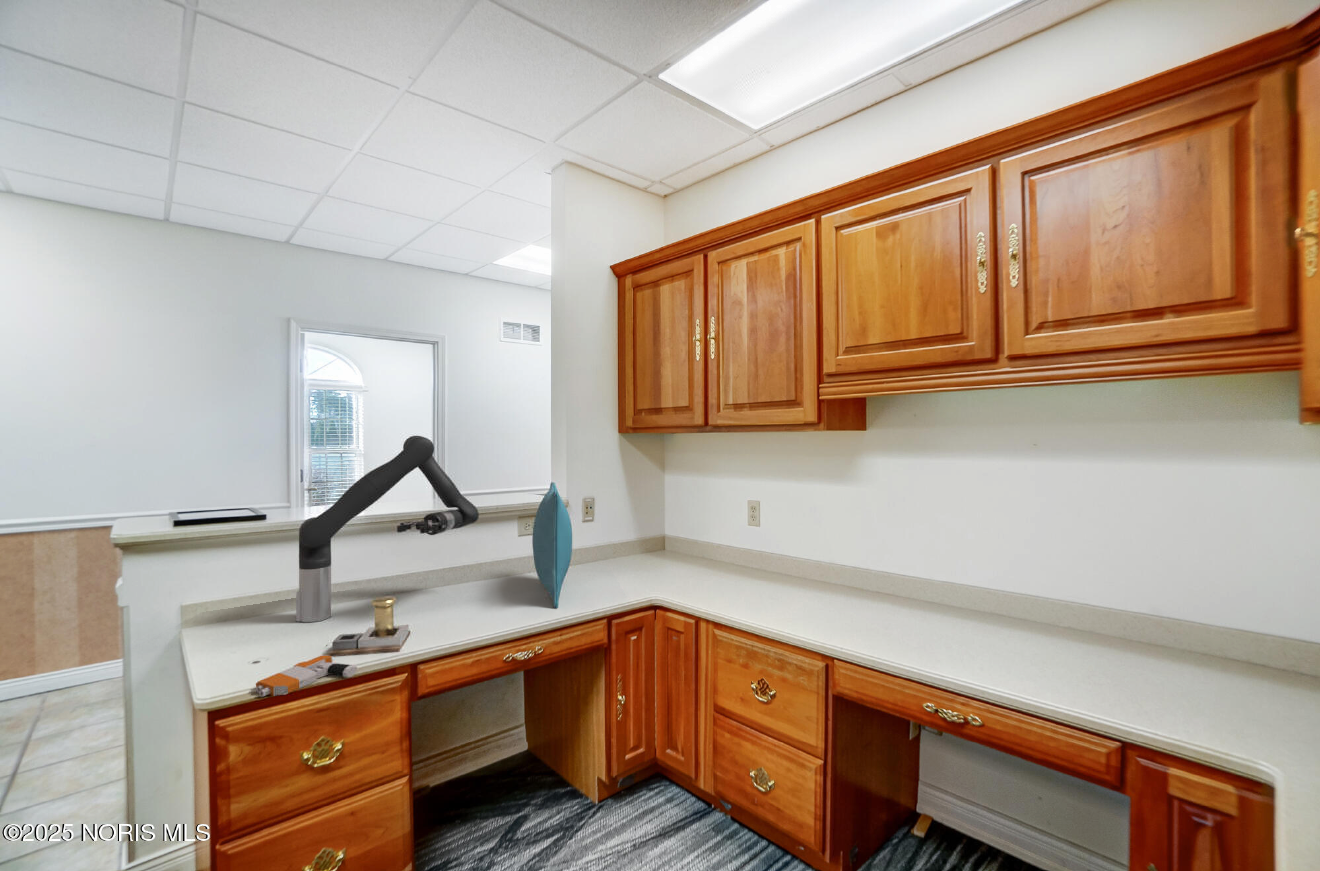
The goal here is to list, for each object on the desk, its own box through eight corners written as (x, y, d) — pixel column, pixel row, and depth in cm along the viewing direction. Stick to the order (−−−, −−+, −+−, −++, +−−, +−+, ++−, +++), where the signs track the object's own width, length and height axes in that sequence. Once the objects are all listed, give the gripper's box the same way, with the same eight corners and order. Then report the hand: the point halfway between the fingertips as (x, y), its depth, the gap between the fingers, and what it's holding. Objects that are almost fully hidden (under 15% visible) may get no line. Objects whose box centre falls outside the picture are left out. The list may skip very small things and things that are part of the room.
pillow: (532, 580, 244) (533, 481, 244) (568, 578, 247) (569, 481, 247) (531, 610, 202) (532, 491, 202) (575, 607, 205) (575, 490, 205)
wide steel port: (358, 649, 162) (358, 640, 162) (369, 635, 173) (369, 627, 173) (400, 646, 164) (400, 637, 164) (408, 633, 175) (408, 624, 175)
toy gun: (359, 661, 148) (319, 651, 154) (286, 693, 131) (244, 681, 137) (359, 674, 148) (319, 663, 154) (287, 708, 131) (244, 695, 137)
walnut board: (328, 656, 159) (328, 652, 159) (346, 637, 174) (346, 634, 174) (399, 651, 163) (399, 648, 163) (410, 633, 177) (410, 630, 177)
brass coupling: (369, 645, 165) (369, 603, 164) (375, 637, 171) (374, 597, 171) (394, 643, 166) (393, 601, 166) (398, 635, 172) (397, 595, 172)
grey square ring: (332, 650, 160) (332, 641, 160) (339, 643, 166) (339, 634, 166) (356, 649, 162) (356, 640, 162) (362, 641, 168) (362, 633, 168)
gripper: (421, 511, 207) (390, 517, 191) (456, 512, 204) (428, 519, 188) (421, 532, 207) (390, 540, 191) (456, 533, 204) (428, 542, 188)
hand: (409, 529), depth 189 cm, fingers open, 8 cm apart
